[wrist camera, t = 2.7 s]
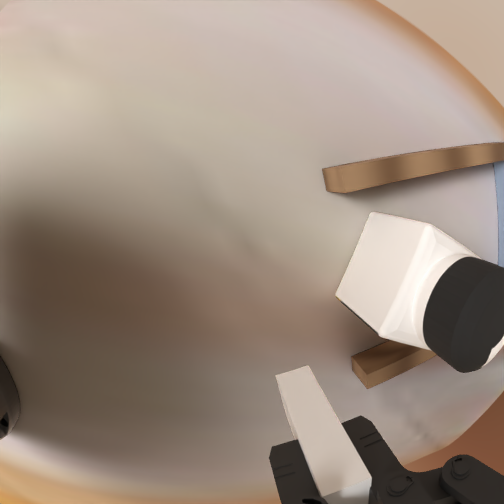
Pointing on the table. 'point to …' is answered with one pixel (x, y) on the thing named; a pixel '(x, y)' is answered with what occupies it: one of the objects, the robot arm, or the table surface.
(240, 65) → the table surface
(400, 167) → the guide channel
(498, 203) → the end stop
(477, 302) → the medicine bottle
